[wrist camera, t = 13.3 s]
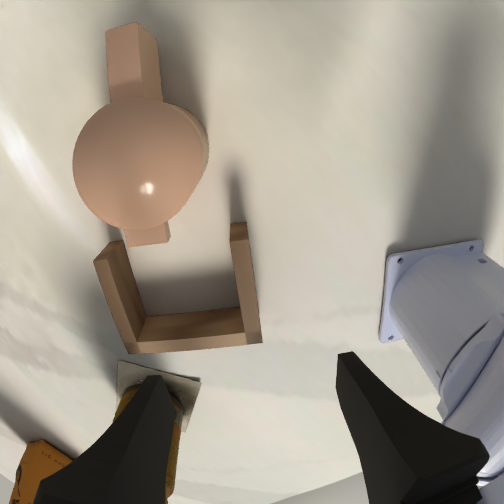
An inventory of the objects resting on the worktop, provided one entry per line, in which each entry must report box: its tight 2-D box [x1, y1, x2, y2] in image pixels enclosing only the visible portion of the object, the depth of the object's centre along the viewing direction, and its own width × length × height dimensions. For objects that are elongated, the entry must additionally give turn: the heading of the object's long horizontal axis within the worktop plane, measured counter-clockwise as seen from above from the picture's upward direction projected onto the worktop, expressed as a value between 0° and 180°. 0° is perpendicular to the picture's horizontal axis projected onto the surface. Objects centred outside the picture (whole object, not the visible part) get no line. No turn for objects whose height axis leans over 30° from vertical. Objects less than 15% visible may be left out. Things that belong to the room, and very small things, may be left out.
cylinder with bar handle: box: [73, 22, 209, 247], centre depth 15 cm, size 11×6×6 cm, turn 5°
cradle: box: [93, 222, 263, 354], centre depth 20 cm, size 9×7×3 cm
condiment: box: [113, 360, 201, 504], centre depth 20 cm, size 7×8×12 cm
